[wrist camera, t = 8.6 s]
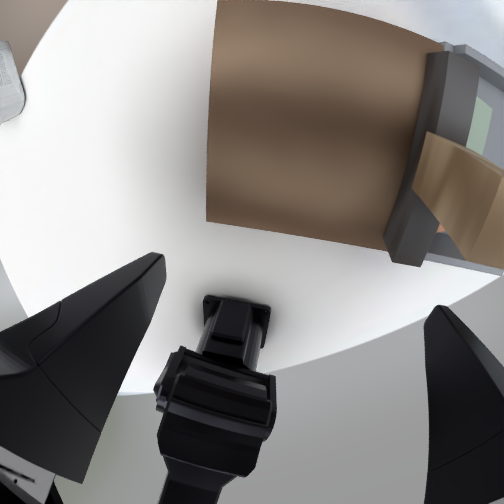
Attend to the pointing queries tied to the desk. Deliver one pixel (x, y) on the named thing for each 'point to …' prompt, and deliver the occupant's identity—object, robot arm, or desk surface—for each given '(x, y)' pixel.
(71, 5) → the desk surface
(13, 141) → the desk surface
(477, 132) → the sage tile
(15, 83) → the white rounded block
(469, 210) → the wood and gray t-block
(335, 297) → the desk surface
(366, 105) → the brown flat block
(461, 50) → the box
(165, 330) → the desk surface
